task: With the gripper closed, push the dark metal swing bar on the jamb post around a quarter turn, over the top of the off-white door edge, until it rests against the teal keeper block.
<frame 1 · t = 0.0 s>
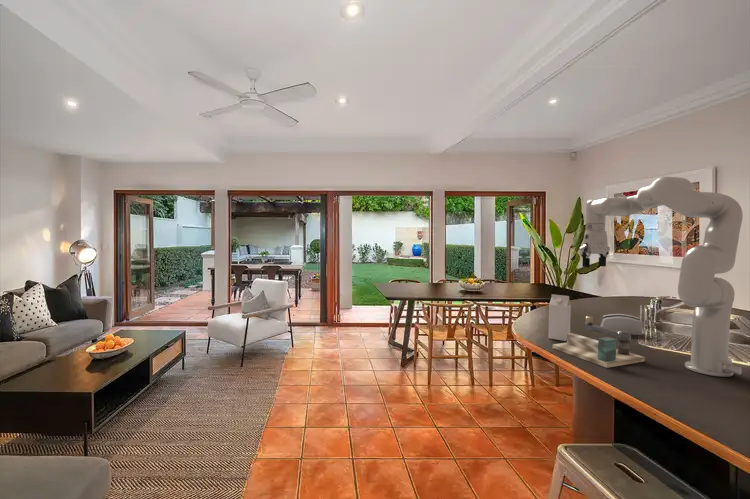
hand: (594, 266, 173), 31 cm above the kitchen island, tool pointing down, fingers open, 9 cm apart
hinge: (620, 333, 181), on the kitchen island
swing bar: (606, 328, 152), point 9 cm above the kitchen island, hinge at 0.0°
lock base: (595, 354, 149), on the kitchen island
milk carton: (559, 338, 172), on the kitchen island
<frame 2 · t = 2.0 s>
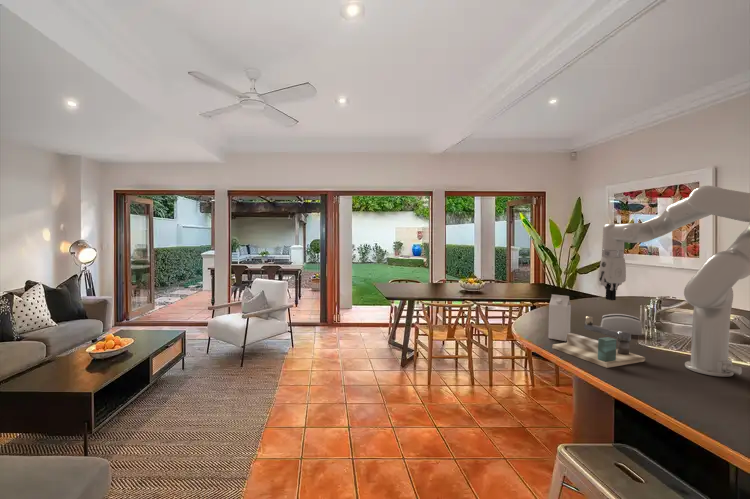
hand: (610, 299, 158), 19 cm above the kitchen island, tool pointing down, fingers closed
nothing on the kitchen island moved.
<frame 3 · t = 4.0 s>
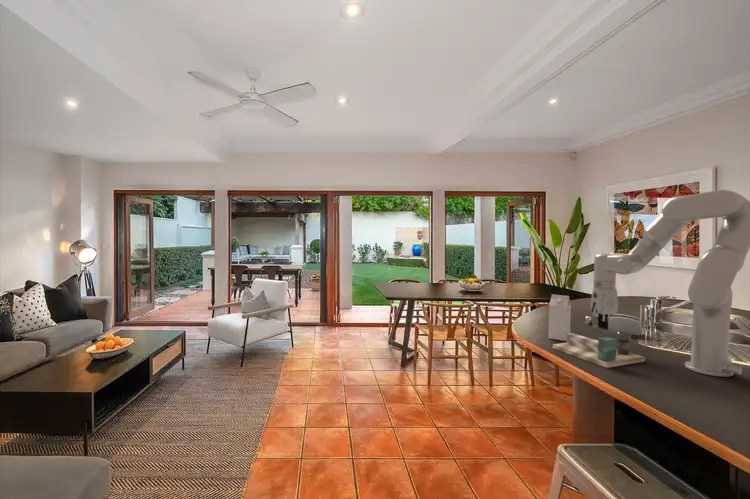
hand: (602, 330, 157), 7 cm above the kitchen island, tool pointing down, fingers closed
swing bar: (606, 328, 152), point 9 cm above the kitchen island, hinge at 0.2°, touching gripper
everything else where it was.
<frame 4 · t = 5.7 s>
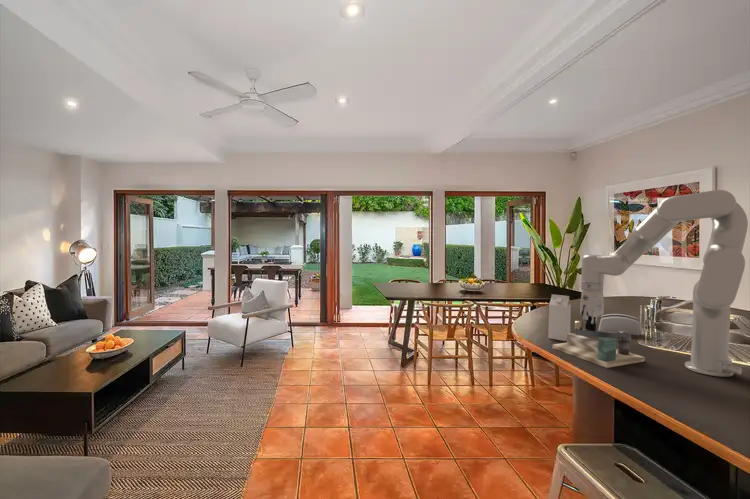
hand: (590, 333, 153), 7 cm above the kitchen island, tool pointing down, fingers closed
swing bar: (602, 330, 149), point 9 cm above the kitchen island, hinge at 44.3°, touching gripper
everything else where it was.
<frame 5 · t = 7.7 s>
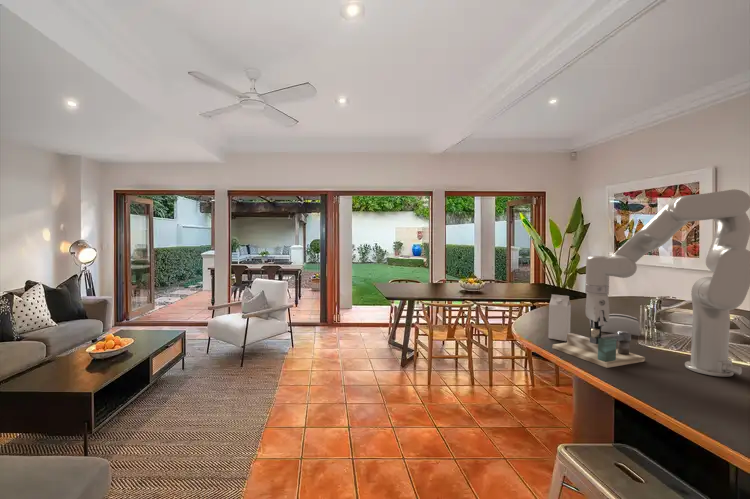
hand: (595, 338, 145), 7 cm above the kitchen island, tool pointing down, fingers closed
swing bar: (610, 334, 143), point 9 cm above the kitchen island, hinge at 90.9°, touching gripper
everything else where it was.
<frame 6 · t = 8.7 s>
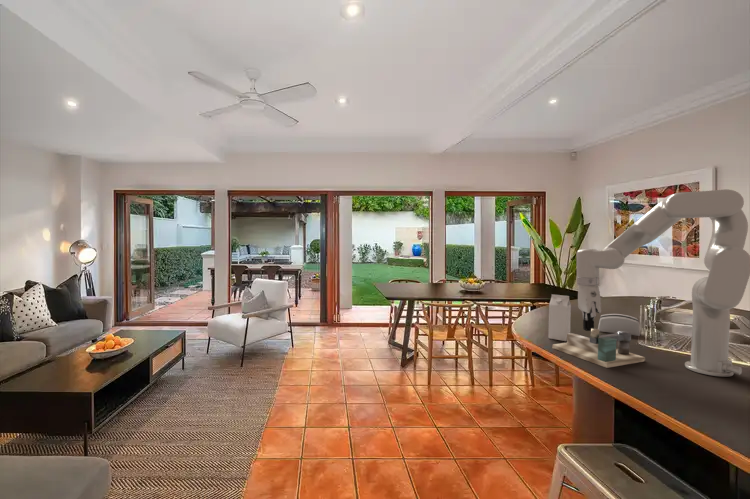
hand: (588, 330, 148), 10 cm above the kitchen island, tool pointing down, fingers closed
swing bar: (610, 334, 143), point 9 cm above the kitchen island, hinge at 90.7°
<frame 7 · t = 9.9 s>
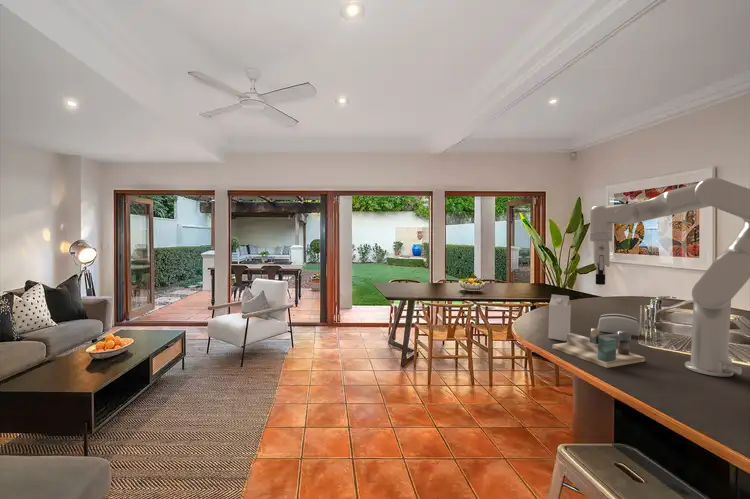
hand: (600, 284, 154), 26 cm above the kitchen island, tool pointing down, fingers closed
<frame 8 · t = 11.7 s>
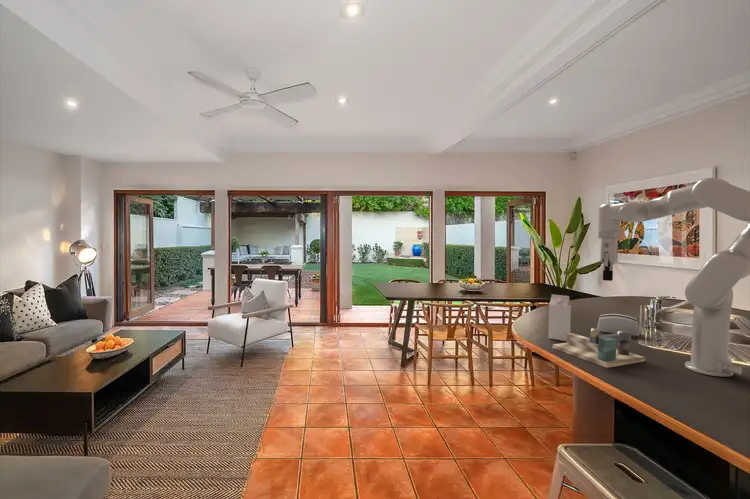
hand: (607, 280, 158), 27 cm above the kitchen island, tool pointing down, fingers closed
at the end: swing bar at +91° (first picture: +0°) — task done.
